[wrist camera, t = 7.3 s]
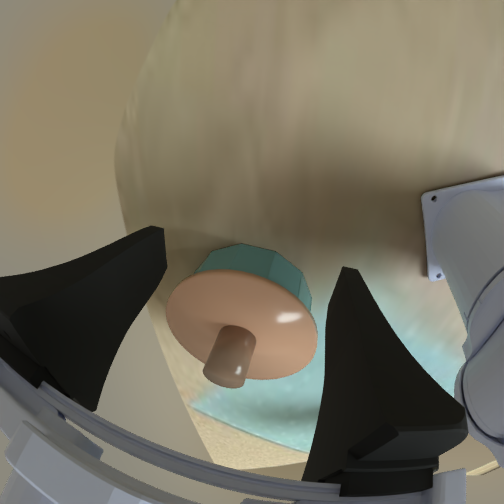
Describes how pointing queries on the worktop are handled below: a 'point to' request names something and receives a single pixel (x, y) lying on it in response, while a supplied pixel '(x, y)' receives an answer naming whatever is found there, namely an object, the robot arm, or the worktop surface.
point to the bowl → (260, 267)
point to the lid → (241, 326)
